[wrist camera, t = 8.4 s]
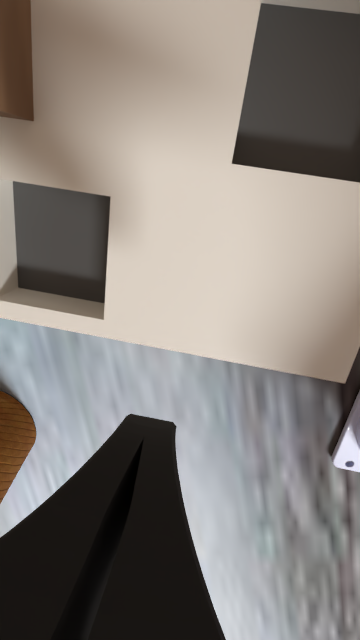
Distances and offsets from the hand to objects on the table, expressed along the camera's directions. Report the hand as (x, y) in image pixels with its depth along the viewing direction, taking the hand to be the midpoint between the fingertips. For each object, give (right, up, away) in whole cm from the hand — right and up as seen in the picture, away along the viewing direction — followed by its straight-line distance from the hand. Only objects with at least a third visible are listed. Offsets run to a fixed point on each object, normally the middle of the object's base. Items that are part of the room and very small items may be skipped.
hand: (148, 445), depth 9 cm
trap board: (0, +11, +7) cm, 13 cm away
